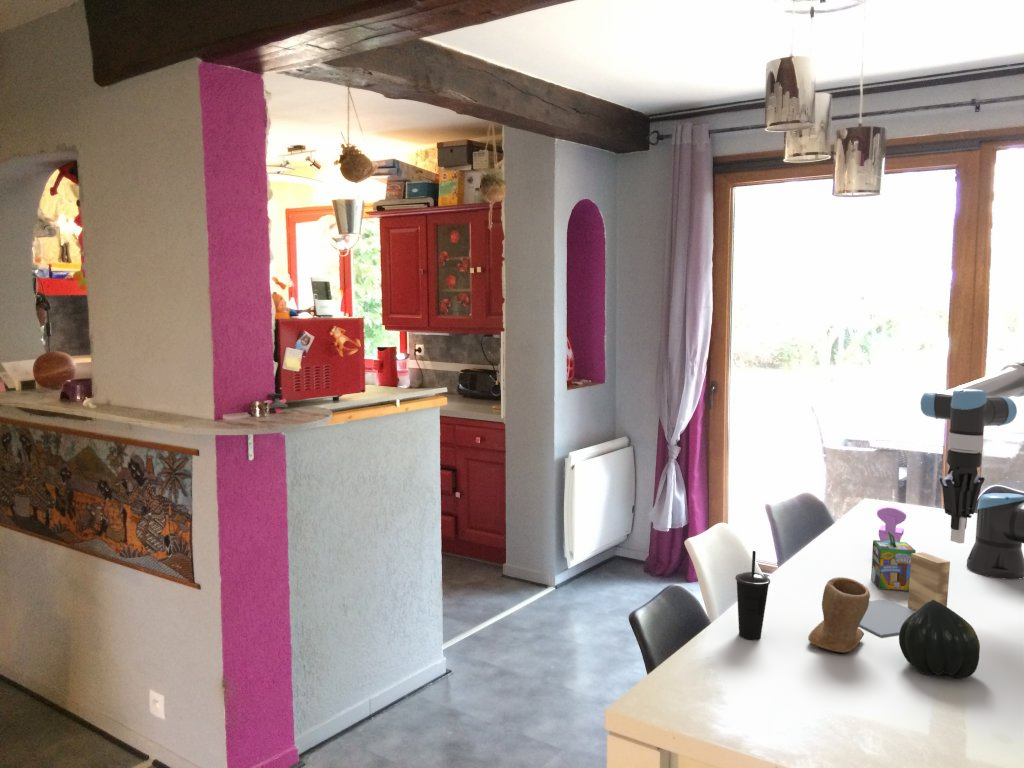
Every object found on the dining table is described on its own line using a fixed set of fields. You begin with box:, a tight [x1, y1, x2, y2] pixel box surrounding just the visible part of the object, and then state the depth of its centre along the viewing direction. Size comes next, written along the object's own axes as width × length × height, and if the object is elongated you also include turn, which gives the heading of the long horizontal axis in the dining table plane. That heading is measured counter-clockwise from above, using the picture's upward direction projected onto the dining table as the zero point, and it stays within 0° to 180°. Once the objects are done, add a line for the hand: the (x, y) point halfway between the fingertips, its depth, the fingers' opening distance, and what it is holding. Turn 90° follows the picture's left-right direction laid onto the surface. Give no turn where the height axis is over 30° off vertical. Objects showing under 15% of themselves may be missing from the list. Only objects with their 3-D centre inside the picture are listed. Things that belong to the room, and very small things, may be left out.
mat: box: [858, 598, 916, 638], centre depth 196 cm, size 20×18×1 cm
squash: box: [898, 600, 981, 679], centre depth 167 cm, size 14×15×15 cm
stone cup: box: [808, 576, 871, 653], centre depth 179 cm, size 15×12×15 cm
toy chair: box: [876, 506, 907, 542], centre depth 250 cm, size 8×9×15 cm
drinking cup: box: [734, 550, 771, 641], centre depth 182 cm, size 8×8×20 cm
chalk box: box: [870, 531, 917, 592], centre depth 219 cm, size 9×9×15 cm
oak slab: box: [907, 551, 951, 612], centre depth 200 cm, size 4×8×14 cm, turn 20°
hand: (957, 541), depth 202 cm, fingers closed
